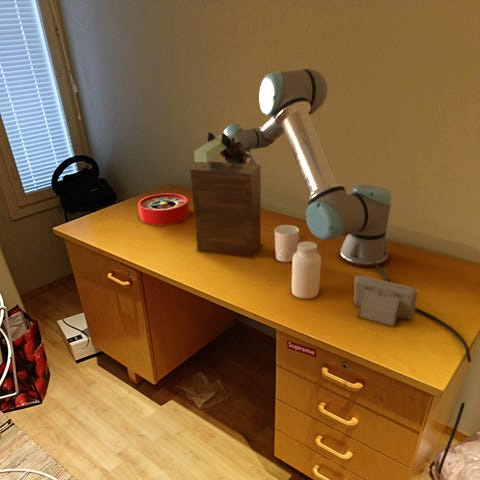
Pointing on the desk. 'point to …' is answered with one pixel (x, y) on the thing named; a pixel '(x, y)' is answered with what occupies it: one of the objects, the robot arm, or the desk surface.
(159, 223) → the toy clock
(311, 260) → the pill bottle
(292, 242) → the white cup
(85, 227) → the desk surface
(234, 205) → the shelf stand
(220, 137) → the pencil tin
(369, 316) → the digital clock
